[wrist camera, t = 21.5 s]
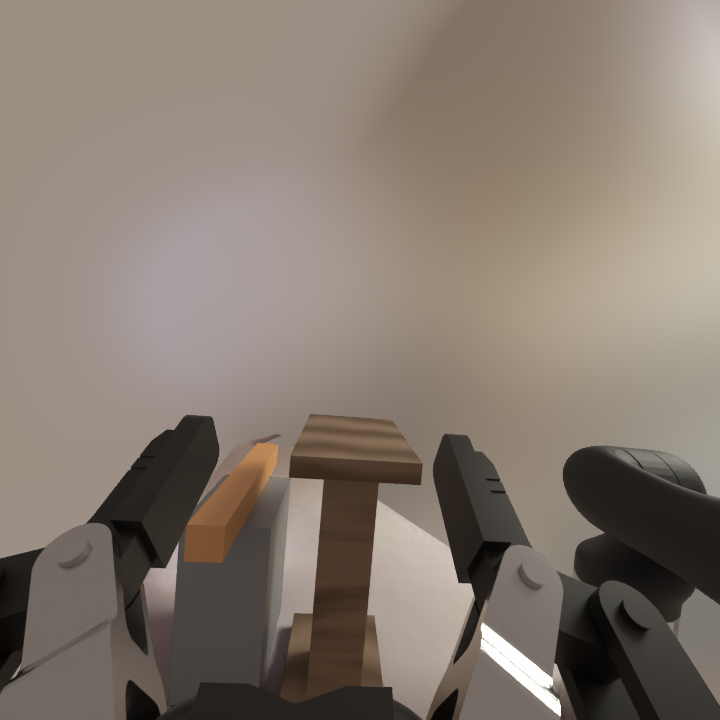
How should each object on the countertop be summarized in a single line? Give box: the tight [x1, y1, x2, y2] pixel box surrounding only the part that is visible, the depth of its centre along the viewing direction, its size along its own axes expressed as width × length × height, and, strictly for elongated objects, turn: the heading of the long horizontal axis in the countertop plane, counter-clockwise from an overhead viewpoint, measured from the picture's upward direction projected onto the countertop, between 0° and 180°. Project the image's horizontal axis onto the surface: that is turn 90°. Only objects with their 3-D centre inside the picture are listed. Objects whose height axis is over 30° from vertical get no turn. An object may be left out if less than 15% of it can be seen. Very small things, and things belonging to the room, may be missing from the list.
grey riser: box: [168, 475, 291, 705], centre depth 40 cm, size 13×10×21 cm
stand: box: [280, 414, 423, 703], centre depth 36 cm, size 17×12×32 cm
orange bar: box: [184, 443, 278, 563], centre depth 40 cm, size 24×4×4 cm, turn 4°
